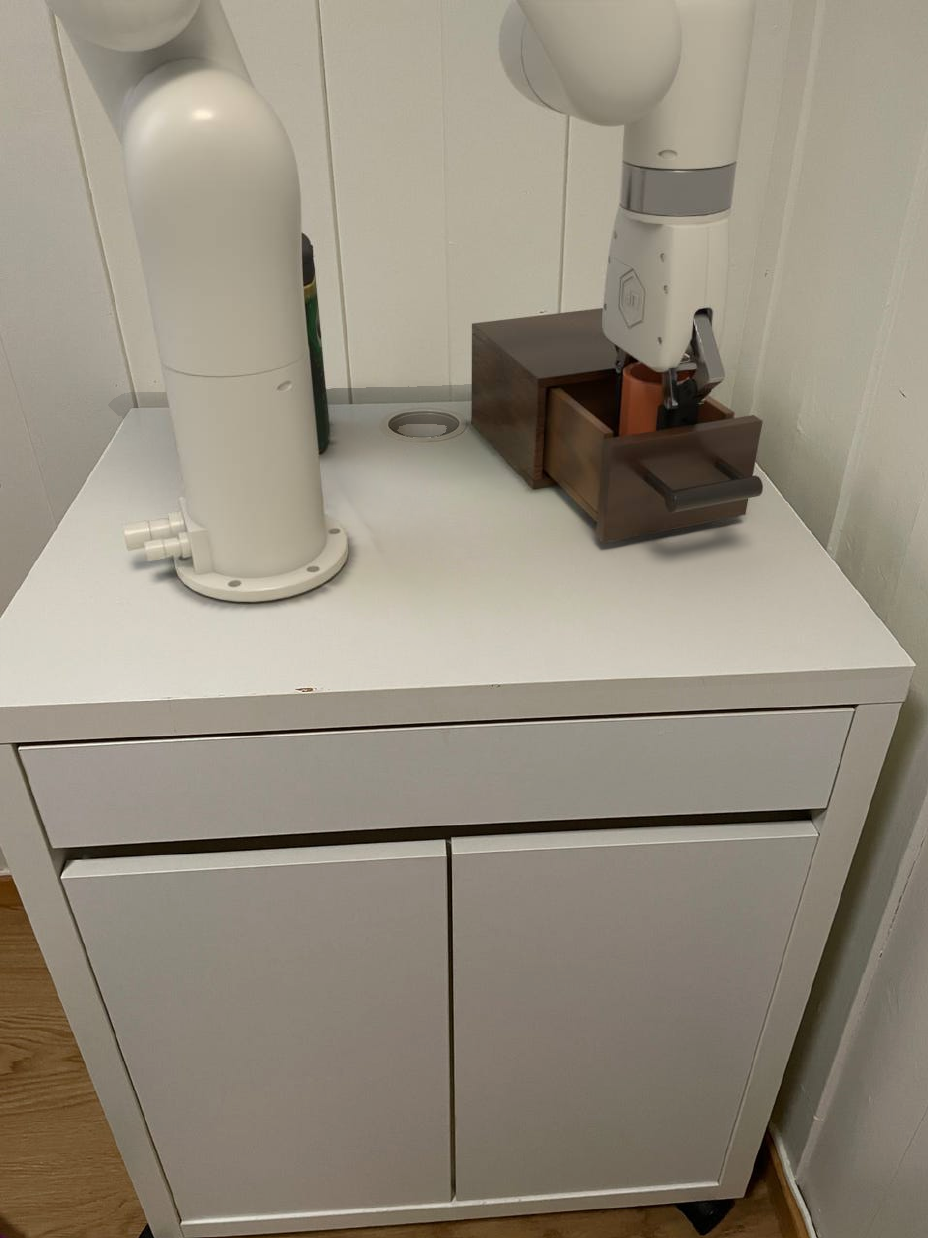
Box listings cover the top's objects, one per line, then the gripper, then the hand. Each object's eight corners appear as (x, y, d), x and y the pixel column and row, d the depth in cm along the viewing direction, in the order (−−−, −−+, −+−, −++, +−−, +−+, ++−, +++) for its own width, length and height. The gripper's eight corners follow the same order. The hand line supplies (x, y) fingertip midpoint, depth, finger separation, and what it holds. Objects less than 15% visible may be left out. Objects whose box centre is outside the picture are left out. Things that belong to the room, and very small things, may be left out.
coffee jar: (244, 422, 93) (216, 216, 82) (328, 417, 94) (311, 213, 83) (241, 466, 85) (209, 244, 75) (332, 460, 86) (314, 240, 76)
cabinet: (675, 464, 85) (690, 357, 80) (533, 489, 81) (537, 378, 76) (599, 404, 97) (607, 307, 91) (471, 423, 93) (471, 323, 87)
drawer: (782, 543, 72) (803, 446, 68) (633, 574, 69) (645, 473, 64) (658, 446, 86) (668, 360, 82) (529, 468, 83) (533, 379, 78)
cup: (638, 465, 74) (645, 390, 71) (605, 437, 78) (610, 365, 75) (701, 453, 75) (710, 379, 72) (665, 426, 80) (672, 355, 76)
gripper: (571, 172, 72) (563, 405, 82) (693, 222, 58) (665, 493, 69) (662, 163, 74) (642, 391, 84) (800, 210, 60) (757, 474, 71)
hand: (653, 434), depth 76 cm, fingers closed on cup, 5 cm apart
